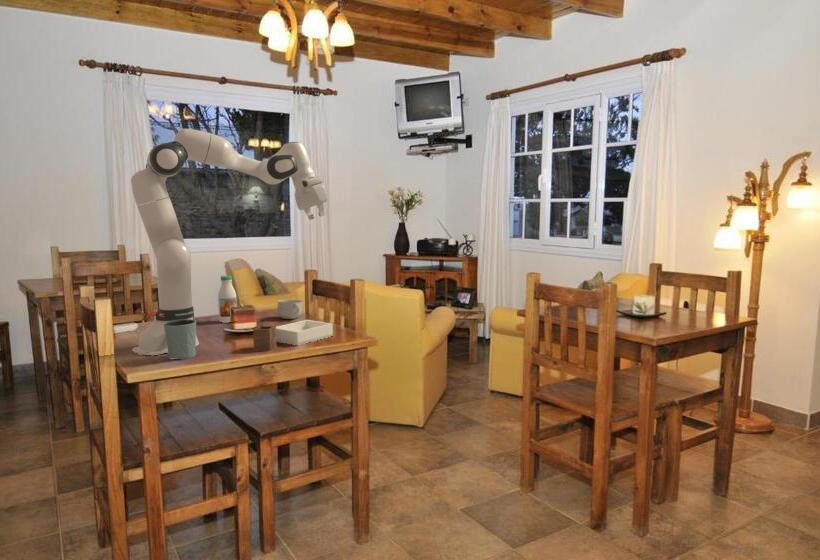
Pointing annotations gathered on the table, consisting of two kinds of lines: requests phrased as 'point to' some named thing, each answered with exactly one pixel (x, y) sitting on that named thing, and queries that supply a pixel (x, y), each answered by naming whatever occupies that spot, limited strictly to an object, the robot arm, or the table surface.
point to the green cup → (181, 338)
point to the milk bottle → (226, 299)
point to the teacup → (289, 308)
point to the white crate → (303, 332)
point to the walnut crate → (264, 337)
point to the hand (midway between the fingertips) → (317, 217)
